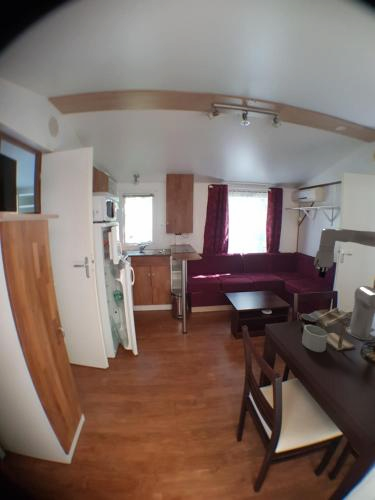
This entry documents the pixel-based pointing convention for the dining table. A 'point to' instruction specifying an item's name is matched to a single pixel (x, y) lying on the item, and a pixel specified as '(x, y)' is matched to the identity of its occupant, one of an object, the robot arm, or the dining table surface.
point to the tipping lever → (331, 317)
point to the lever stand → (338, 338)
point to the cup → (314, 338)
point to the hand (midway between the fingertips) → (321, 277)
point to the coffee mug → (306, 321)
